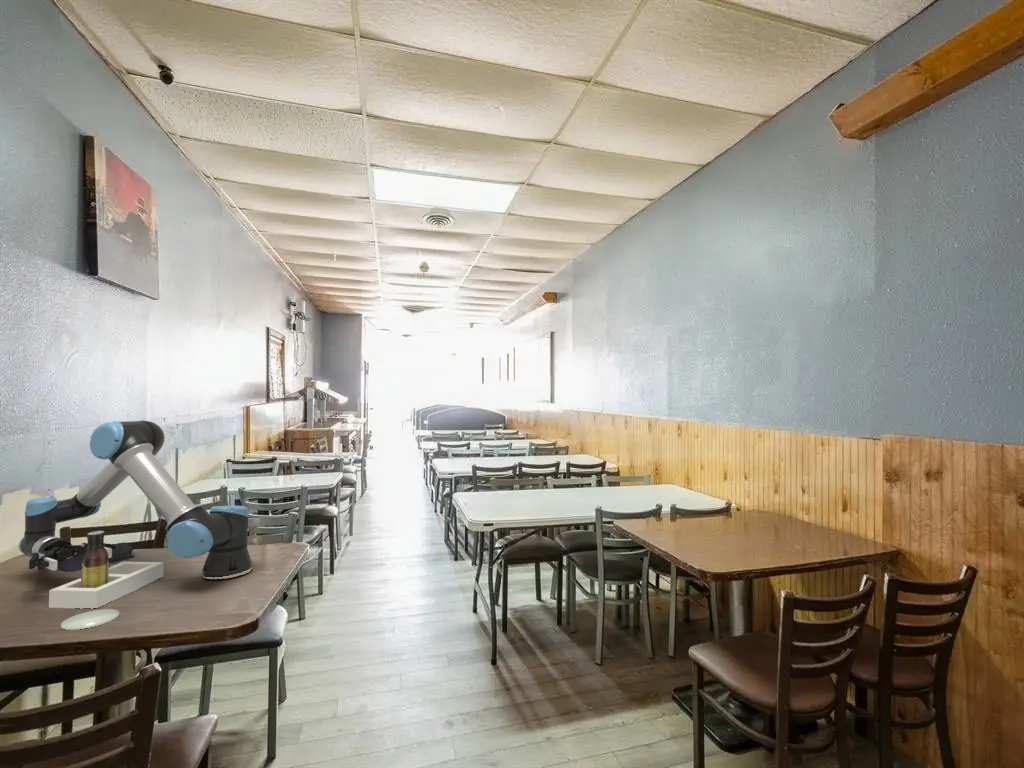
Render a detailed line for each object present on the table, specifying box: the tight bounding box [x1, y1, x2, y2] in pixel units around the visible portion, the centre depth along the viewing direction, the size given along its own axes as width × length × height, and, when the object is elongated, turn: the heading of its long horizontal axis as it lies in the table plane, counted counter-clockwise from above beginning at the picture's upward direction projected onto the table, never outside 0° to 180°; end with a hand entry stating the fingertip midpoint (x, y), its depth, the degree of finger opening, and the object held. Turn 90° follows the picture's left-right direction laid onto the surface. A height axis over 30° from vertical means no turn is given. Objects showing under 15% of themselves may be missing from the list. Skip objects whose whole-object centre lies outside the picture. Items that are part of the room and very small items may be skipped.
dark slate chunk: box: [57, 541, 135, 573], centre depth 182 cm, size 15×22×5 cm
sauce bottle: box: [80, 530, 110, 588], centre depth 148 cm, size 7×6×20 cm
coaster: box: [60, 608, 120, 631], centre depth 133 cm, size 12×12×1 cm
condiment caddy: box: [48, 561, 165, 610], centre depth 153 cm, size 14×26×5 cm, turn 178°
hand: (84, 559), depth 150 cm, fingers open, 13 cm apart
